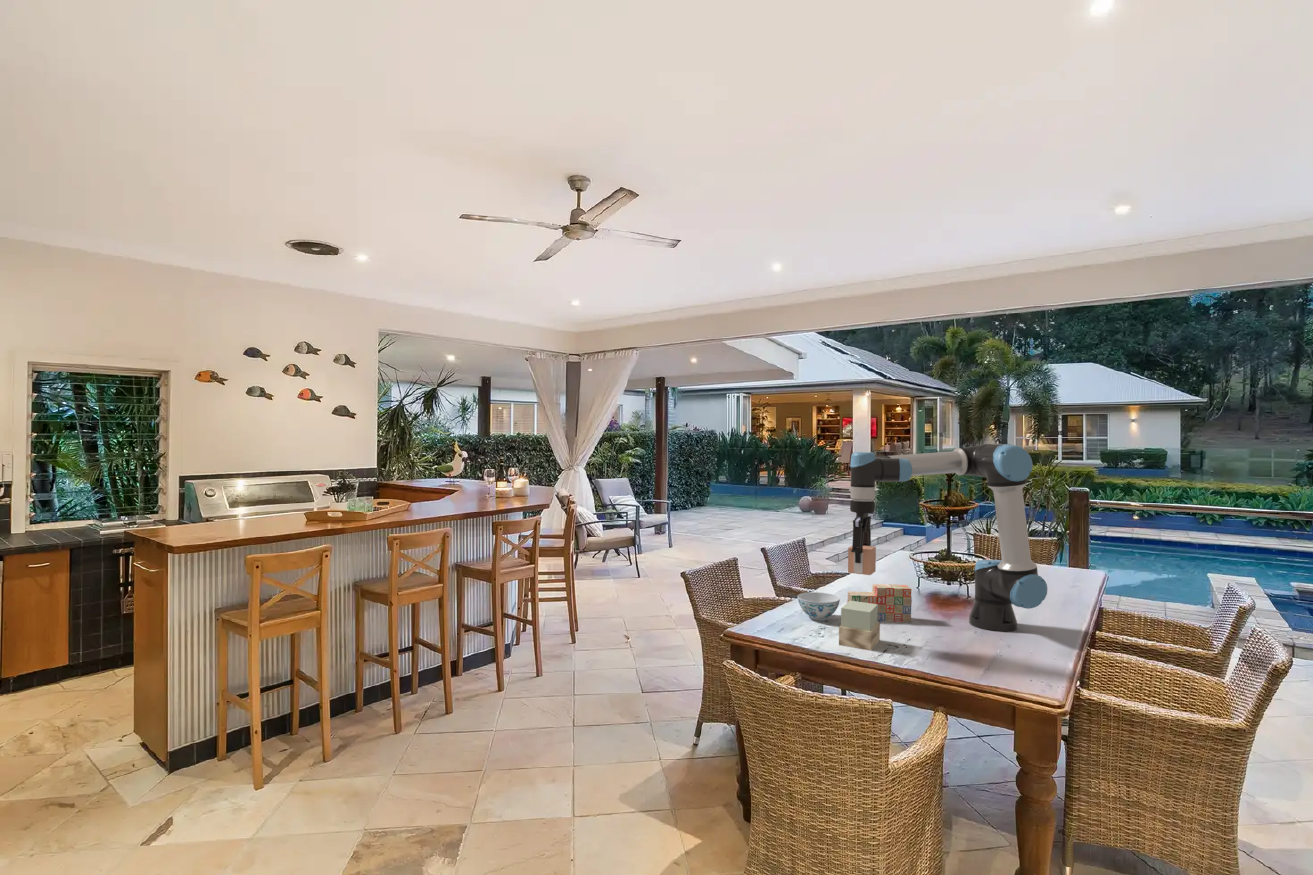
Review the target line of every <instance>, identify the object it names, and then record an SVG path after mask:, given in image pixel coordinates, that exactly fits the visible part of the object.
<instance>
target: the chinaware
mask: <svg viewBox="0 0 1313 875" xmlns="http://www.w3.org/2000/svg"><path fill="white" fill-rule="evenodd" d="M797 600H798V603H799V606H800V609H801V610H802V611H803V612H804V613H805V614H806V615H808V618H809V619H810V620H813V621H820V622H823V621H828V619H829V617H831V616H832V615H834V613H835V612H836V611H837V609H838V608H839V605H840V601H841V598H840V597H839V596H838V595H836V594H831V593H827V592H818V591H817V592H815V591H811V592H801V593H799V594H798V595H797Z"/></svg>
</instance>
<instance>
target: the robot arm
mask: <svg viewBox="0 0 1313 875" xmlns="http://www.w3.org/2000/svg"><path fill="white" fill-rule="evenodd" d="M850 456H851V458H850V488H849V489H848V492H850V499H851V500H850V502H849V506H850V507H849V509H850V510H849V511H850V512H852V513H855V517H854V519H853V520H852V526H853V528H852V545H851V546H852V550H851V552H854V573H853V574H855V573H860V574H859V575H864V574H863V553H862V552H863V551H862V550H863V546H872V537H871V535H872V533H871V531H872V530H871V522H872V517H871V516H869V514H873V513H875V508H876V506H875V501H874V500H875V499H876V498H875V497H876V483H877V482H887V483H889V482H891V483H892V482H898V483H900V482H901V483H902V482H908V481H909V480H911V478H912V477H915V476H929V475H930V476H931V475H944V474H956V475H957V476H975V477H981V478H986V484H987V487H988V488H989V489H991V491H992V492H993V499H994V507H995V508H994V509H995V514H996V523H997V532H998V540H999V549H1000V557H1001V558H1000V559H980V560H977V561H976V562H975V566H974V603H973V604H972V608H971V610H970V613H969V616H968V617H969V619H968V622H969V624H970V625H972V626H973V627H976V628H979V629H983V630H990V631H995V632H1012V631H1015V630H1017V629H1018V620H1017V618H1016V615H1015V612H1014V609H1013V605H1014V606H1016V607H1018V608H1023V609H1029V610H1031V609H1034V608H1036V607H1039V606H1040V605H1042V602H1043V601H1045V600H1046V598H1047V595H1048V584H1047V581H1046V580H1045V579H1044V578H1043V577H1042V576H1040V575H1039V574H1038V566H1037V564H1036V562H1034V561H1033V560H1032V557H1031V550H1030V549H1031V548H1030V542H1029V532H1028V524H1027V517H1026V510H1025V509H1026V508H1025V500H1024V491H1023V489H1024V487H1025V486H1027V484H1028V482H1027V478H1028V477H1029V476H1030V473H1032V471H1033V460H1032V457H1031V455H1030V453H1029V452H1028V451H1027V450H1026V449H1024V447H1021V446H1019V445H1015V444H1009V443H1000V444H999V443H996V444H995V443H983V444H978V445H971V446H966V447H965V446H964V447H958V448H955V449H953V451H938V452H925V453H923V452H921V453H911V454H910V453H908V454H897V455H896V454H895V455H883V456H882V455H880V456H876V453H875V452H869V451H868V452H867V451H866V452H865V451H855V452H852V454H851V455H850Z"/></svg>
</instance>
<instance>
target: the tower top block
mask: <svg viewBox="0 0 1313 875" xmlns="http://www.w3.org/2000/svg"><path fill="white" fill-rule="evenodd" d="M877 617H878V604H872V603H864V602H857V601H849V602H848V603H847V602H846V603H845V604H844V605H842V607H841V608H840V626H841V627H846V628H852V629H858V630H865V631H871V629H872V628H873V627H874V626H875V625H876V624H877V622H878V621H877Z"/></svg>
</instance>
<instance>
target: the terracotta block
mask: <svg viewBox="0 0 1313 875" xmlns="http://www.w3.org/2000/svg"><path fill="white" fill-rule="evenodd" d="M851 550H852V545H851V546H849V547H848V548H847V555H848V556H847V557H848V558H847V573H848V574H857V575H861V574H860V573H854V552H851ZM862 551H863V552H862V553H863V574H862V575H864V576H871V575H873V574H874V573H875V572H876V567H877V565H876V564H877V562H876V560H877V559H876V558H877V554H876V552H877V547H876V546H874V545H873V546H872V545H871V546H863V550H862Z"/></svg>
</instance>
